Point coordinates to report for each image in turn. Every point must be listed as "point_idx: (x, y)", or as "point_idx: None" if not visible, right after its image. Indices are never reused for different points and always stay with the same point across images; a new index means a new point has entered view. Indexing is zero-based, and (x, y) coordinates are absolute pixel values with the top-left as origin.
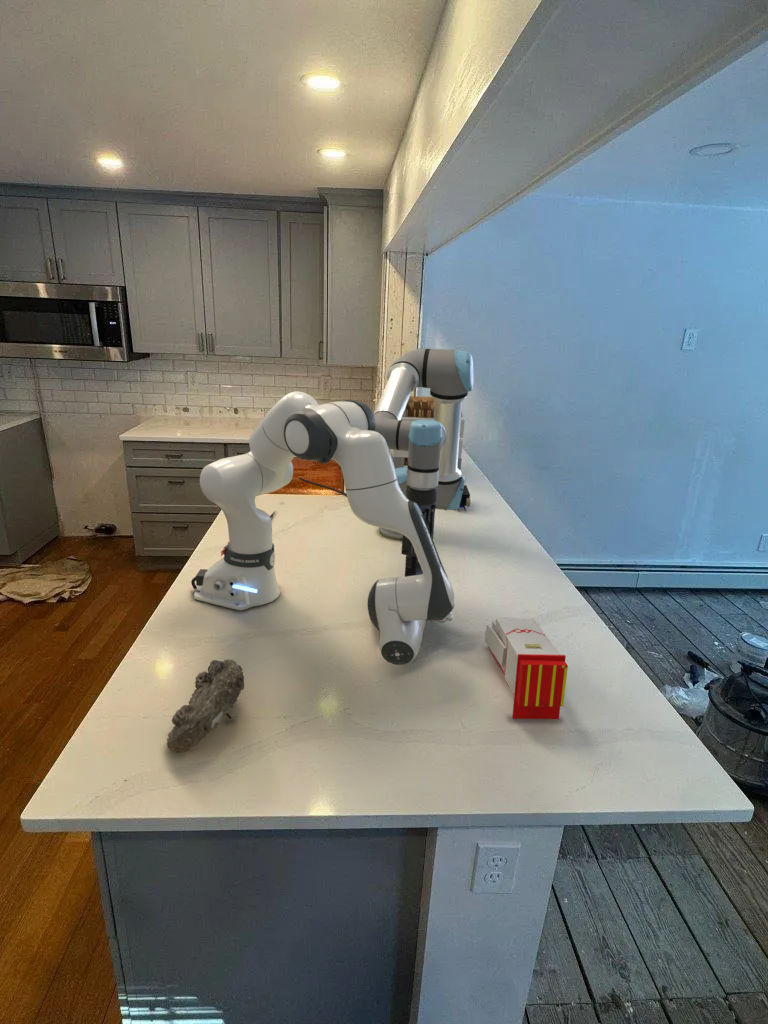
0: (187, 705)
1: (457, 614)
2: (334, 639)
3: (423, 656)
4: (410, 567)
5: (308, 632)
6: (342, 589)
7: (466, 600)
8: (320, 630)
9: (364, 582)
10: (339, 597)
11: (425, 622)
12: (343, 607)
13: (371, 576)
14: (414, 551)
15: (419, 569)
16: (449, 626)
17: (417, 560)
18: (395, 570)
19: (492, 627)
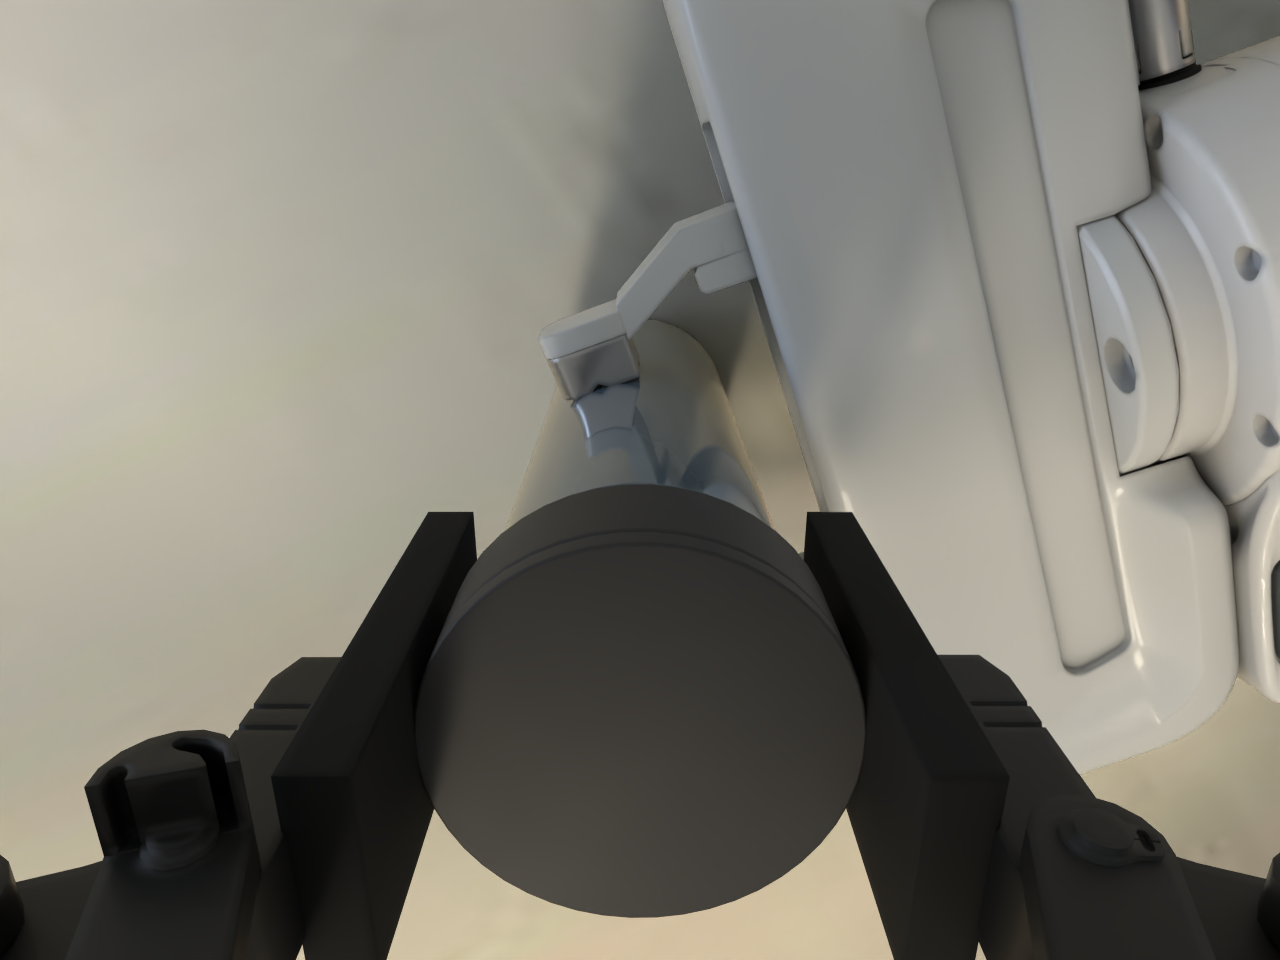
0: None
1: (386, 44)
2: (1245, 688)
3: (1237, 3)
4: (995, 673)
5: (1224, 845)
6: (611, 955)
7: (72, 82)
8: (1173, 805)
9: (424, 902)
10: (721, 919)
11: (1269, 40)
12: (829, 840)
13: None
14: (1164, 909)
15: None
16: (641, 15)
17: (763, 689)
18: (90, 830)
19: None
